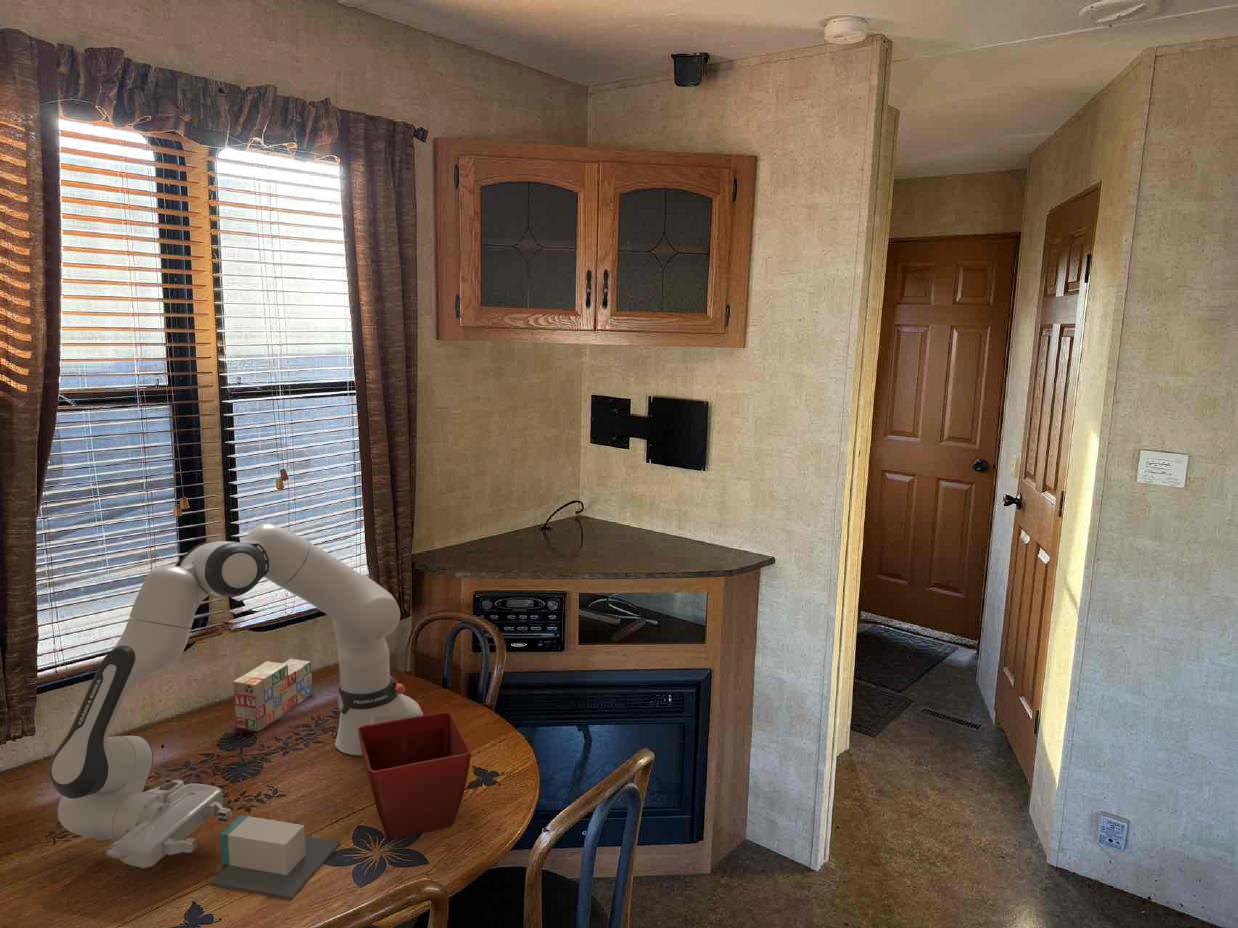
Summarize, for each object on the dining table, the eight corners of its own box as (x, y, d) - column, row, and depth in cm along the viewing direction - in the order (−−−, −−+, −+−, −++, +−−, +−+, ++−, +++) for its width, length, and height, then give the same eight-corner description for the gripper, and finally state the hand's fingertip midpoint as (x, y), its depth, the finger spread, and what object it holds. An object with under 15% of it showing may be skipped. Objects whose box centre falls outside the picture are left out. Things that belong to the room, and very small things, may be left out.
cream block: (241, 814, 162) (304, 825, 159) (243, 844, 163) (305, 854, 160) (220, 833, 156) (285, 844, 154) (222, 863, 157) (286, 875, 155)
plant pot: (359, 801, 179) (357, 725, 176) (452, 783, 186) (450, 709, 183) (372, 855, 161) (369, 772, 158) (473, 832, 169) (472, 752, 166)
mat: (209, 884, 152) (209, 882, 152) (264, 831, 168) (264, 829, 168) (291, 899, 149) (291, 896, 149) (340, 844, 164) (340, 841, 164)
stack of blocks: (292, 691, 228) (290, 647, 226) (313, 694, 226) (310, 650, 224) (235, 728, 208) (232, 680, 206) (257, 732, 206) (254, 684, 204)
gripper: (98, 837, 147) (169, 849, 144) (182, 774, 167) (246, 784, 164) (101, 870, 148) (172, 883, 145) (184, 804, 168) (248, 814, 165)
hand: (212, 830), depth 155 cm, fingers open, 8 cm apart
